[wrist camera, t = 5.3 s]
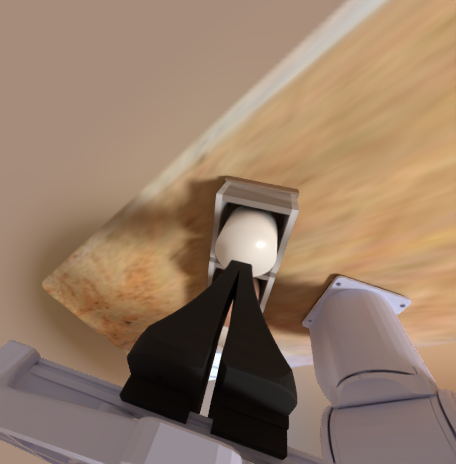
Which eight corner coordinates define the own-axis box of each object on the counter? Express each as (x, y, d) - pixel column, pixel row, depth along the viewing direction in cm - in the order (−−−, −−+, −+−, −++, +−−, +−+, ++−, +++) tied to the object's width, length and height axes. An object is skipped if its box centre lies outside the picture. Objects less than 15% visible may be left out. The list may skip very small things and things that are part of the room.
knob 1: (270, 253, 19) (268, 283, 16) (224, 242, 20) (212, 268, 16) (283, 210, 17) (284, 234, 13) (230, 199, 17) (218, 219, 14)
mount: (253, 323, 29) (249, 354, 26) (209, 311, 30) (199, 339, 26) (298, 189, 18) (302, 208, 15) (227, 175, 19) (214, 190, 16)
